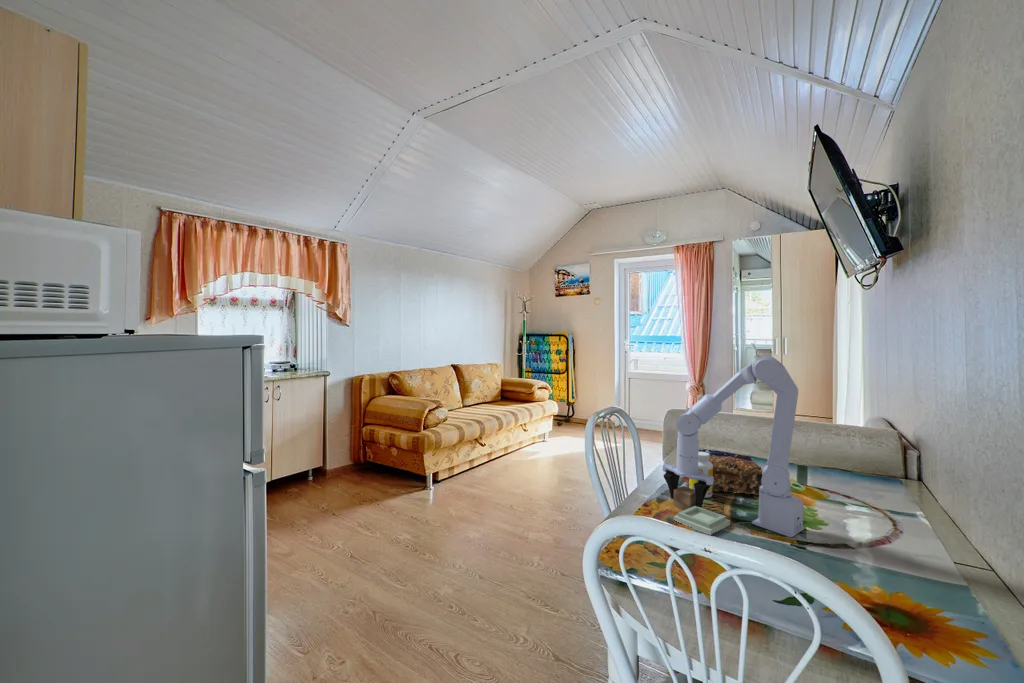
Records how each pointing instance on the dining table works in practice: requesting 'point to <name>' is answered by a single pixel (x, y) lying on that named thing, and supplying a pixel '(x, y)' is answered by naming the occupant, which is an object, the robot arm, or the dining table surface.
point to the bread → (736, 475)
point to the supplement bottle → (703, 471)
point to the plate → (702, 520)
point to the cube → (684, 498)
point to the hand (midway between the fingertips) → (686, 502)
